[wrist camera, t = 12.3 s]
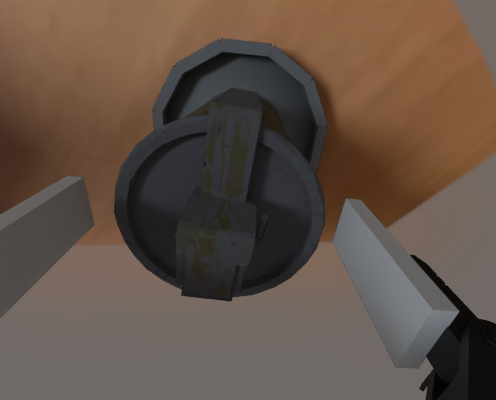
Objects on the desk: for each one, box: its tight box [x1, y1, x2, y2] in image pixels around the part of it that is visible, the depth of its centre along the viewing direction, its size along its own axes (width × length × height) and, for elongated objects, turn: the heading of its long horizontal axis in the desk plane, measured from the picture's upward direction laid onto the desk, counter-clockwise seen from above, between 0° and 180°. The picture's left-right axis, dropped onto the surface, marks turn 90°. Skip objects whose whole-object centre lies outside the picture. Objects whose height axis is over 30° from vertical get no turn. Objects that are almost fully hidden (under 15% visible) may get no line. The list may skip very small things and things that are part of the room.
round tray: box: [152, 38, 328, 172], centre depth 27 cm, size 18×18×2 cm
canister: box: [114, 87, 325, 301], centre depth 19 cm, size 11×10×20 cm
